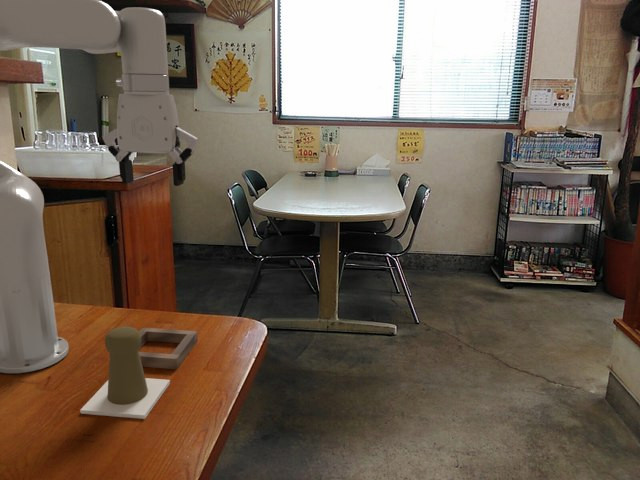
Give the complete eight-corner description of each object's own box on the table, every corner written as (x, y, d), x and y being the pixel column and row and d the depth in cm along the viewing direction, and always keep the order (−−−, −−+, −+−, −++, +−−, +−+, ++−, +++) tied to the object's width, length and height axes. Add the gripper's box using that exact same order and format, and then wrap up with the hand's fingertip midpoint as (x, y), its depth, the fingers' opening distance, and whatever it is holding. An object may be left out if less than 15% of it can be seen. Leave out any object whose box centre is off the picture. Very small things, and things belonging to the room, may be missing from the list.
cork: (134, 407, 80) (128, 341, 77) (99, 401, 81) (92, 336, 78) (155, 386, 86) (150, 324, 83) (121, 381, 87) (116, 319, 84)
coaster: (80, 413, 79) (80, 410, 79) (112, 378, 89) (112, 375, 89) (144, 418, 78) (144, 415, 78) (170, 383, 88) (170, 379, 88)
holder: (116, 364, 93) (115, 354, 93) (143, 336, 104) (142, 327, 103) (177, 369, 92) (176, 358, 92) (197, 340, 103) (197, 331, 102)
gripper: (87, 84, 89) (97, 185, 93) (186, 86, 87) (192, 189, 92) (109, 85, 96) (118, 178, 101) (202, 86, 94) (206, 182, 99)
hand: (153, 183), depth 96 cm, fingers open, 9 cm apart
